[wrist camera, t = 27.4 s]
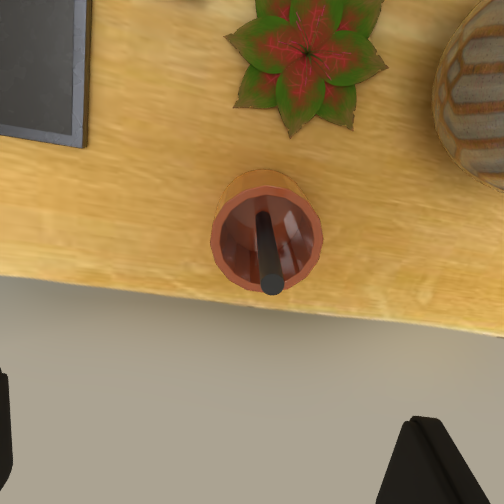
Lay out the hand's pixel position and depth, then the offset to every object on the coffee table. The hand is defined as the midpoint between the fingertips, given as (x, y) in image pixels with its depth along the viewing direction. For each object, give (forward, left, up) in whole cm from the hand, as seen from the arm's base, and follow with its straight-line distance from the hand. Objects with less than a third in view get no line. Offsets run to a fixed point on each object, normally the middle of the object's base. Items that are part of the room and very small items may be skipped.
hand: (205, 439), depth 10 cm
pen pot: (-2, +1, -25) cm, 25 cm away
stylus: (-2, +1, -24) cm, 24 cm away
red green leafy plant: (-3, -11, -25) cm, 28 cm away
